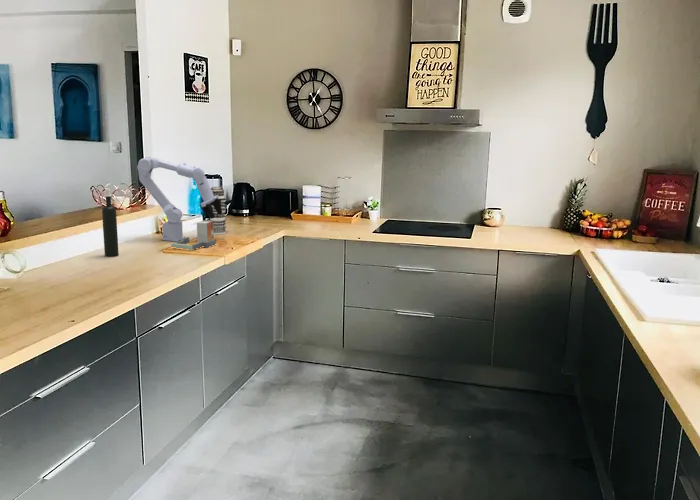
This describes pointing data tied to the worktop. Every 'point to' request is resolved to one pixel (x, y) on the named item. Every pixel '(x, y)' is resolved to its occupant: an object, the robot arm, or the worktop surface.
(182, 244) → the keyhole jig
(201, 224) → the small box
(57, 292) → the worktop surface
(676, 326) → the worktop surface
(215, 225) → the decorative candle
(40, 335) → the worktop surface
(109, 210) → the wine bottle
